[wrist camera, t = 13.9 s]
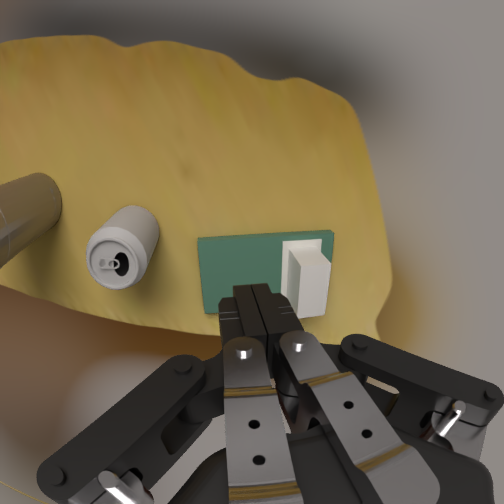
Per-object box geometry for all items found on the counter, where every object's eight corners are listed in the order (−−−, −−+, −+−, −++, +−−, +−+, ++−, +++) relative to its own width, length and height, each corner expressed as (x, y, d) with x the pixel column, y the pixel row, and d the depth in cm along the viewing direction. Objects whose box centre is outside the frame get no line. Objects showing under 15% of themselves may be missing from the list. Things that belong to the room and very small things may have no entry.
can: (157, 257, 41) (142, 301, 30) (110, 249, 39) (81, 289, 28) (163, 208, 38) (147, 238, 27) (113, 200, 36) (80, 226, 26)
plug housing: (288, 248, 42) (301, 266, 36) (315, 246, 42) (331, 263, 37) (286, 296, 45) (296, 318, 39) (311, 293, 45) (324, 314, 40)
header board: (204, 308, 45) (205, 325, 41) (197, 237, 41) (196, 249, 36) (323, 296, 48) (333, 311, 44) (330, 229, 43) (342, 240, 39)
